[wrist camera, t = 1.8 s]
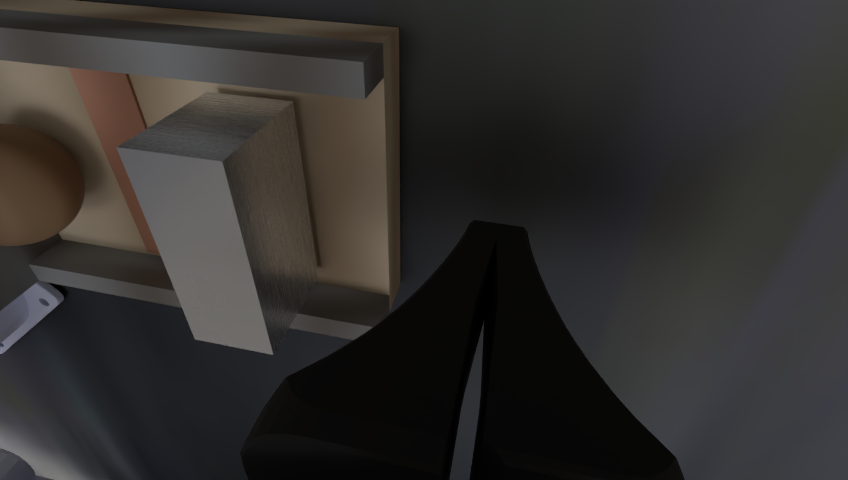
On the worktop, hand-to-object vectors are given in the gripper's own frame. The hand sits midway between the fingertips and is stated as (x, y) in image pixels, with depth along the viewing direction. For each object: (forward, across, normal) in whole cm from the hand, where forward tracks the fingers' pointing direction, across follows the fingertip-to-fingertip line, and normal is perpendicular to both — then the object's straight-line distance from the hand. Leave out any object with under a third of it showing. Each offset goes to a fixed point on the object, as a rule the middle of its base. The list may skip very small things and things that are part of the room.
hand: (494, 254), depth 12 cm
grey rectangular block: (+1, +7, 0) cm, 7 cm away
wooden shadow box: (+3, +11, 0) cm, 11 cm away
